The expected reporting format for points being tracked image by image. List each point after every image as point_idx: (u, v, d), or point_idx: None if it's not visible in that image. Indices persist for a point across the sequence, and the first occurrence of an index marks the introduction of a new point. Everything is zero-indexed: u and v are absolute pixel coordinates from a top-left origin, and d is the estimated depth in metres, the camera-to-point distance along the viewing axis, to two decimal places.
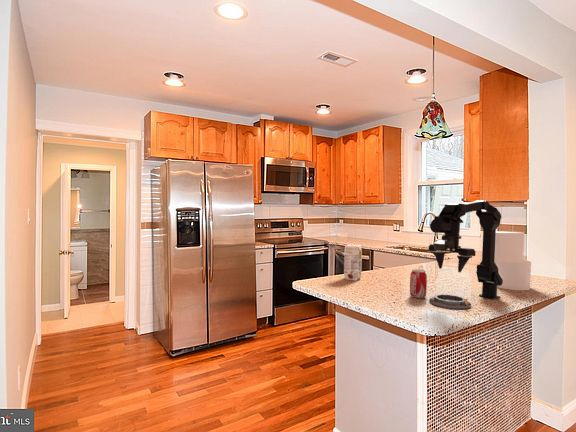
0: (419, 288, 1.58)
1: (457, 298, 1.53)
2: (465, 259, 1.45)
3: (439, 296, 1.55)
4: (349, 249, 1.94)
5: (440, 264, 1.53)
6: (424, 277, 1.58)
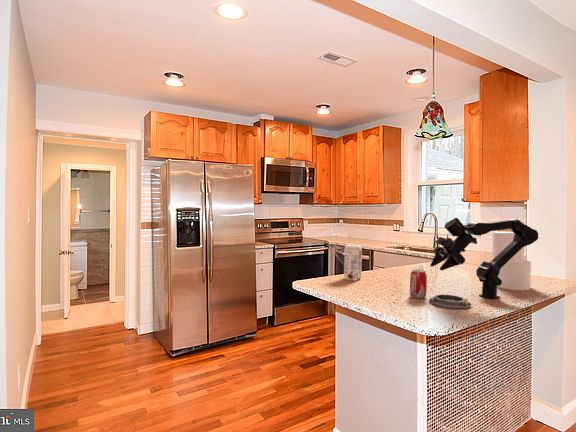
0: (419, 288, 1.58)
1: (457, 298, 1.53)
2: (452, 263, 1.55)
3: (439, 296, 1.55)
4: (349, 249, 1.94)
5: (434, 263, 1.66)
6: (424, 277, 1.58)
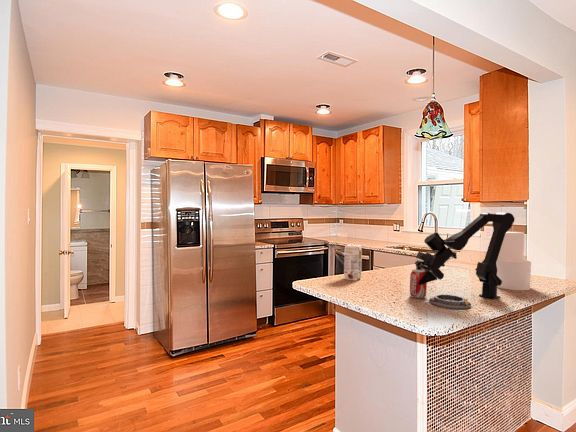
0: (419, 288, 1.58)
1: (457, 298, 1.53)
2: (430, 278, 1.56)
3: (439, 296, 1.55)
4: (349, 249, 1.94)
5: None
6: None
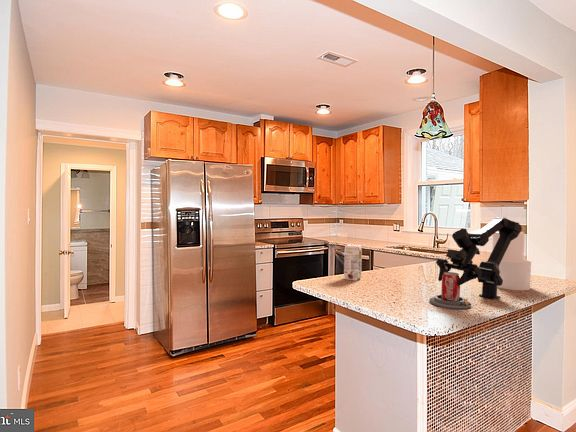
0: (456, 292, 1.47)
1: None
2: (468, 277, 1.46)
3: (439, 296, 1.55)
4: (349, 249, 1.94)
5: (441, 277, 1.54)
6: None
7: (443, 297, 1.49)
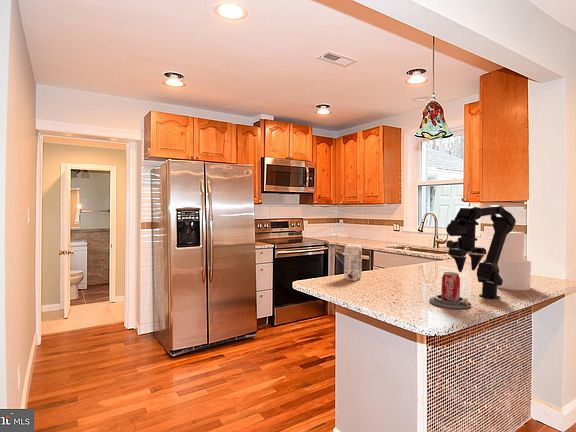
0: (456, 292, 1.47)
1: None
2: (460, 260, 1.51)
3: (439, 296, 1.55)
4: (349, 249, 1.94)
5: (473, 266, 1.58)
6: (459, 280, 1.48)
7: (443, 297, 1.49)
